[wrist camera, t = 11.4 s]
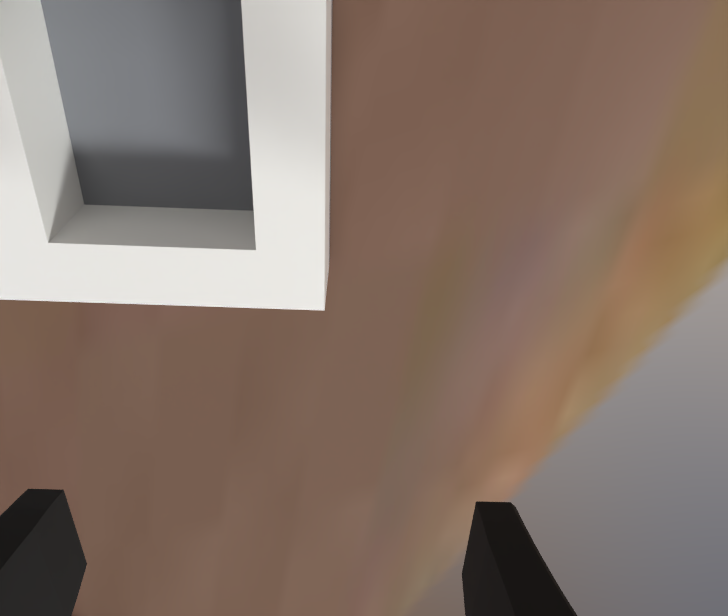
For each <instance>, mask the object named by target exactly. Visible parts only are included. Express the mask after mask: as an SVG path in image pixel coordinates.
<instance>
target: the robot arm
mask: <svg viewBox="0 0 728 616" xmlns="http://www.w3.org/2000/svg"><path fill="white" fill-rule="evenodd" d="M86 565H87V563H86V560H85V556H84V553H83V550H82V547H81V544H80V540H79V537H78V534H77V531H76V528H75V525H74V521H73V518H72V515H71V512H70V509H69V506H68V502H67V499H66V496H65V493H64V490H50V489H28V490H27V491H25V492H24V493H23V494H22V495H21V496H20V497H19V498H18V499H17V500H16V501H15V502H14V503H13V504H12V505H11V506H10V507H9V508H8V509H7V510H6V511H5V512H4V513H3V514H2V515H1V516H0V616H71V615H72V612H73V609H74V605H75V602H76V599H77V596H78V593H79V589H80V586H81V582H82V579H83V575H84V572H85V569H86ZM462 581H463V592H464V603H465V615H466V616H577V615H576V613H575V611H574V610H573V608H572V607H571V605H570V604H569V602H568V600H567V599H566V597H565V596H564V594H563V592H562V591H561V589H560V587H559V586H558V584H557V582H556V581H555V579H554V577H553V576H552V574H551V572H550V571H549V569H548V567H547V565H546V563H545V562H544V560H543V558H542V556H541V555H540V553H539V551H538V549H537V547H536V546H535V544H534V542H533V540H532V538H531V536H530V535H529V533H528V531H527V529H526V527H525V525H524V523H523V521H522V519H521V517H520V515H519V513H518V511H517V509H516V507H515V506H514V505H513V504H512V503H510V502H476V505H475V510H474V515H473V520H472V525H471V530H470V535H469V540H468V545H467V550H466V556H465V561H464V566H463V571H462Z"/></svg>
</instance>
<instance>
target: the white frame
mask: <svg viewBox="0 0 728 616" xmlns="http://www.w3.org/2000/svg"><path fill="white" fill-rule="evenodd" d="M331 83H332V0H0V299H4V300H33V301H63V302H92V303H122V304H152V305H181V306H211V307H240V308H270V309H300V310H325V300H326V290H327V280H328V270H329V261H330V178H331Z"/></svg>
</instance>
